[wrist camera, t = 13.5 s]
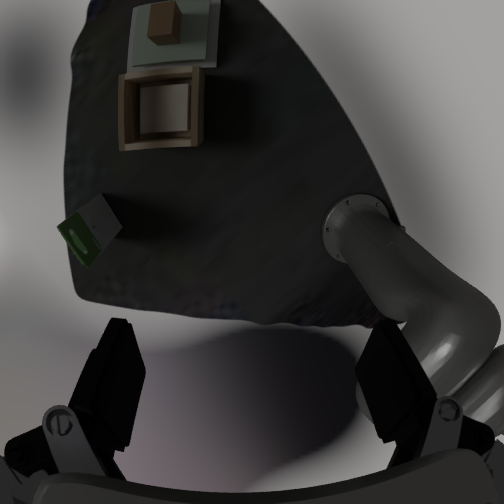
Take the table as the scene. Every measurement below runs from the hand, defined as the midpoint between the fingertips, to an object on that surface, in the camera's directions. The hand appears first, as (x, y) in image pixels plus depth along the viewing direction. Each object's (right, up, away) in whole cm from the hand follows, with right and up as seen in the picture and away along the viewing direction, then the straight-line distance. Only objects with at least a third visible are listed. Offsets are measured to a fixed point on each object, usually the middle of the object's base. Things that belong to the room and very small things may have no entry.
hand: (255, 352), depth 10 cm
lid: (-11, +34, +17) cm, 39 cm away
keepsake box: (-12, +24, +24) cm, 36 cm away
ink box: (-24, +10, +30) cm, 40 cm away
